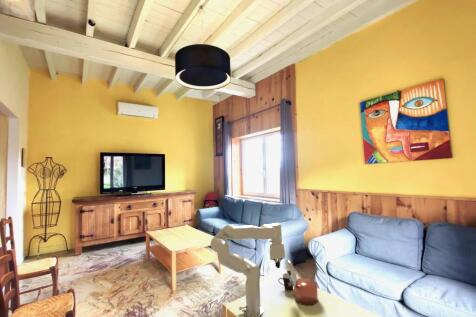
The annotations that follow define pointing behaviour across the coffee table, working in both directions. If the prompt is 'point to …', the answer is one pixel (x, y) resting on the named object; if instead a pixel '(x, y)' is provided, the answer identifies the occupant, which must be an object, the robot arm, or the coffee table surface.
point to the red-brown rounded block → (306, 291)
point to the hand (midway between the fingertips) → (277, 267)
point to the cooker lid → (291, 272)
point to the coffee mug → (286, 282)
